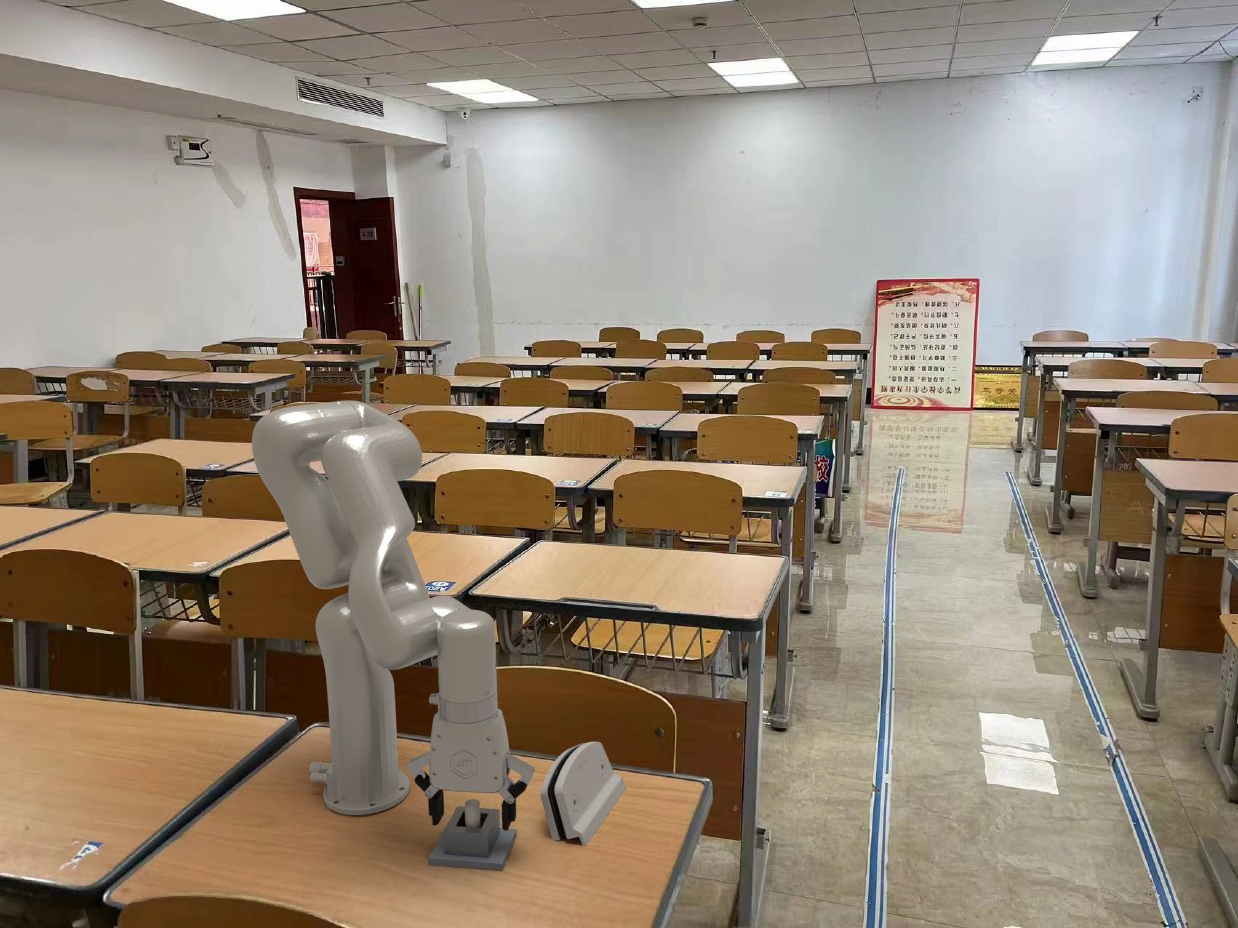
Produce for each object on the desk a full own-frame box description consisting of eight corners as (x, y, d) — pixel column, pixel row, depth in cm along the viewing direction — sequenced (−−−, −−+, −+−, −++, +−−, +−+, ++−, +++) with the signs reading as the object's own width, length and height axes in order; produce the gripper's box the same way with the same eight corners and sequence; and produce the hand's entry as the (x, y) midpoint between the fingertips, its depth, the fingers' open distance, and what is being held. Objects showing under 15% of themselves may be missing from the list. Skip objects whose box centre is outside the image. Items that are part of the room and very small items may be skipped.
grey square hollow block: (444, 854, 124) (443, 830, 124) (458, 829, 130) (457, 806, 130) (488, 858, 124) (487, 834, 123) (500, 832, 129) (499, 809, 129)
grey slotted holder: (584, 847, 128) (561, 779, 127) (555, 851, 129) (531, 784, 129) (626, 786, 143) (605, 726, 142) (599, 791, 145) (579, 731, 144)
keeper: (428, 864, 124) (426, 816, 122) (447, 830, 132) (445, 785, 130) (502, 870, 123) (501, 822, 121) (516, 835, 130) (515, 789, 129)
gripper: (395, 713, 120) (401, 833, 124) (526, 720, 118) (529, 843, 122) (415, 689, 128) (420, 803, 131) (538, 695, 126) (541, 811, 129)
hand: (472, 822), depth 126 cm, fingers open, 9 cm apart
